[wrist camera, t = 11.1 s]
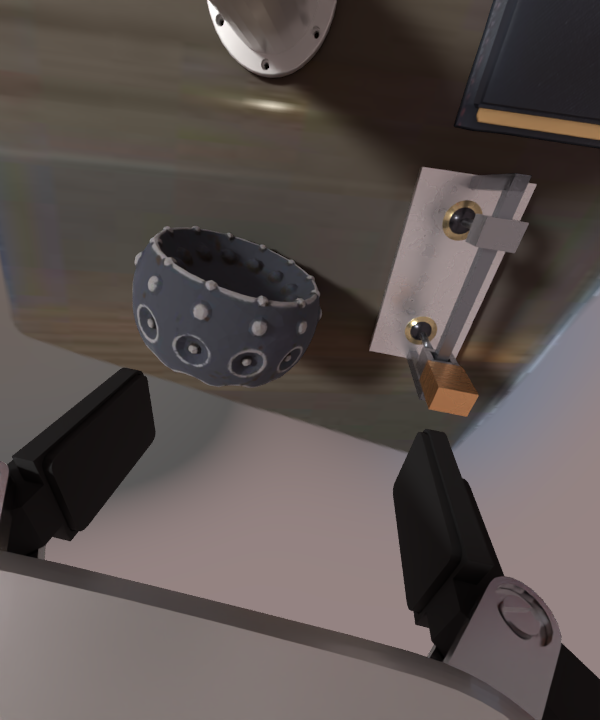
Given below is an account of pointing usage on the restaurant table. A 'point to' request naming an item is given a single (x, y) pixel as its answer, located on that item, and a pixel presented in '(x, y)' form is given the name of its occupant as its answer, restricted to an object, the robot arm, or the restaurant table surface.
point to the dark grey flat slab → (537, 72)
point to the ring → (223, 307)
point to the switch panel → (448, 260)
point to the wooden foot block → (444, 382)
